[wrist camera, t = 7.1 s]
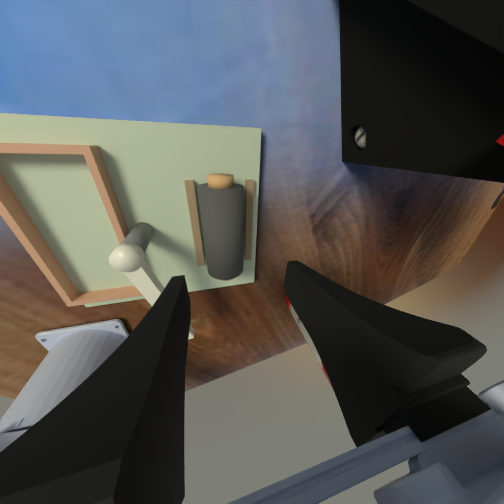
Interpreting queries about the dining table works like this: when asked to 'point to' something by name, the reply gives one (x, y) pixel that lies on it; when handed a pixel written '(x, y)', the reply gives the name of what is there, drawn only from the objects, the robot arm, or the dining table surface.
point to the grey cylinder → (222, 225)
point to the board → (120, 198)
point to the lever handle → (138, 272)
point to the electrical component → (424, 85)
